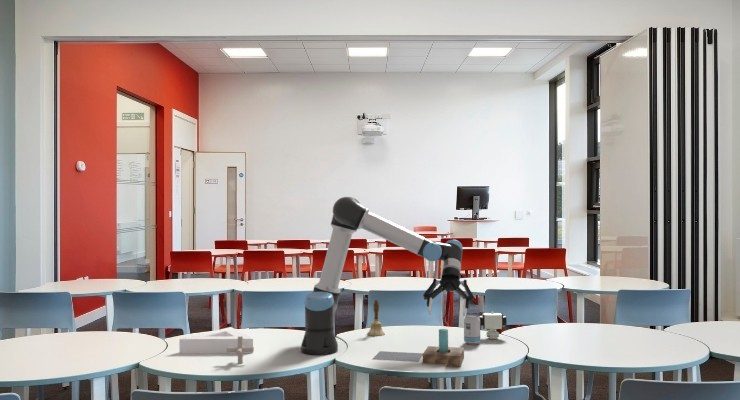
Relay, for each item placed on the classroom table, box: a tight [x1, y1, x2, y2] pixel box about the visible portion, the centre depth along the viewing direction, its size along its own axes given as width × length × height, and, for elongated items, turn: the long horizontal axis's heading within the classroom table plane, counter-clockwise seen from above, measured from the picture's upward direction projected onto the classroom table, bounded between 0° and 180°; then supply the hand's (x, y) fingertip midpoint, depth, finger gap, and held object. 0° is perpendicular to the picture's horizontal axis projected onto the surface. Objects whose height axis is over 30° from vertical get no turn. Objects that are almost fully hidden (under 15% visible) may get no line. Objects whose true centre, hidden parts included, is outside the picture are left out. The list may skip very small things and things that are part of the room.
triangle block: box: [178, 326, 254, 354], centre depth 271 cm, size 30×26×6 cm
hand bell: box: [366, 299, 386, 337], centre depth 294 cm, size 8×8×16 cm
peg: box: [438, 328, 449, 353], centre depth 242 cm, size 4×4×12 cm
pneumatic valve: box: [478, 311, 508, 340], centre depth 283 cm, size 6×12×12 cm, turn 87°
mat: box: [371, 350, 424, 363], centre depth 248 cm, size 18×14×1 cm
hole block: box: [422, 345, 465, 368], centre depth 241 cm, size 14×14×4 cm
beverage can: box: [463, 314, 481, 346], centre depth 273 cm, size 7×7×12 cm
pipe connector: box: [227, 336, 255, 365], centre depth 241 cm, size 10×10×10 cm
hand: (446, 313), depth 251 cm, fingers open, 13 cm apart
